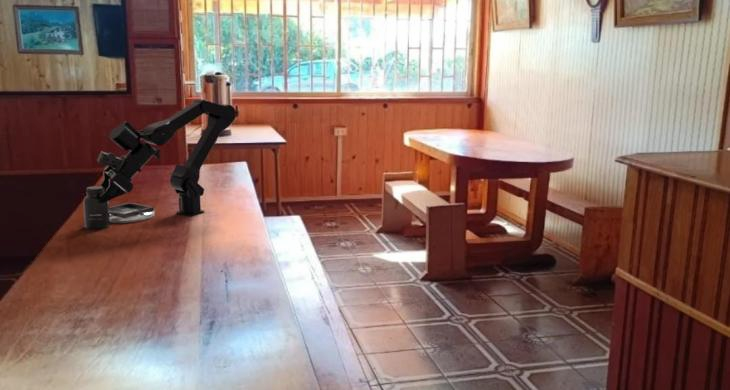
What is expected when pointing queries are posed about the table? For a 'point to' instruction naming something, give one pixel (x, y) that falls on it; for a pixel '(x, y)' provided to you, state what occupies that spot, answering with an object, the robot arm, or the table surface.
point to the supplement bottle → (95, 209)
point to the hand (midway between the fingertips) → (98, 199)
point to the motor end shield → (130, 213)
